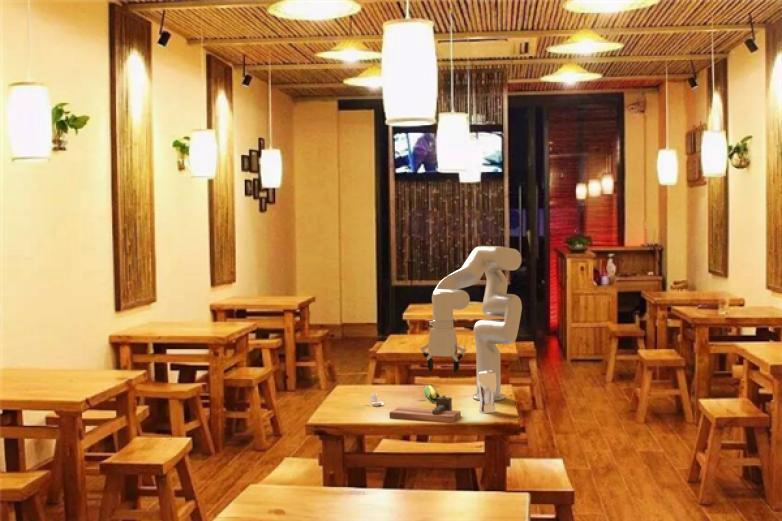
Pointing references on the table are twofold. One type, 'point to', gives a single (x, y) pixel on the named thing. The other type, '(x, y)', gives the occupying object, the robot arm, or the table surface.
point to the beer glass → (487, 390)
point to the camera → (442, 404)
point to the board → (424, 414)
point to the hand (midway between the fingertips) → (443, 371)
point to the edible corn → (431, 393)
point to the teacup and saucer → (375, 400)
